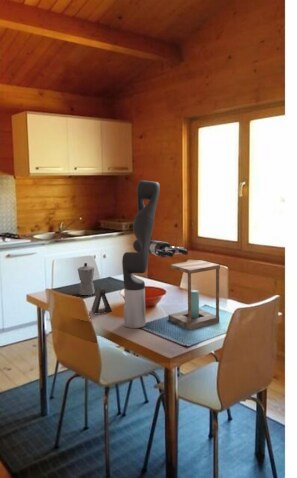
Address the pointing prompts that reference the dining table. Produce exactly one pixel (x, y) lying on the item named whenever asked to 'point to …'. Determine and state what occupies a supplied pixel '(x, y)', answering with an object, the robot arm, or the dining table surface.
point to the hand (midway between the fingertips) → (179, 253)
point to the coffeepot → (86, 280)
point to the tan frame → (185, 316)
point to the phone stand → (97, 302)
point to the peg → (194, 304)
